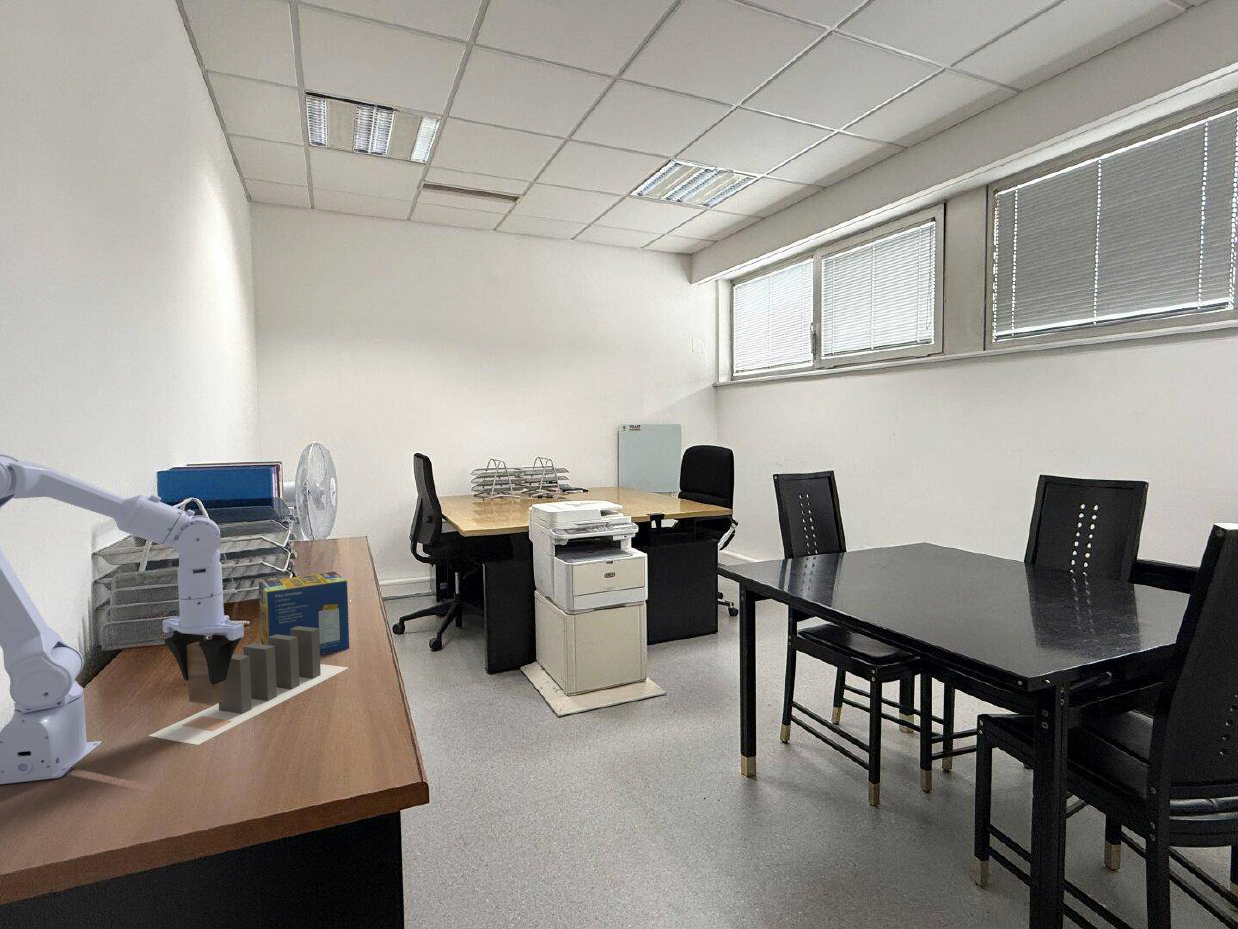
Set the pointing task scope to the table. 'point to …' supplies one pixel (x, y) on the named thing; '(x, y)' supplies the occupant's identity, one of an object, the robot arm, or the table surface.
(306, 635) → the domino
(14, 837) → the table surface
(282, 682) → the domino
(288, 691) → the board
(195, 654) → the domino
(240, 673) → the domino
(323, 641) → the protein box
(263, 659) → the domino
